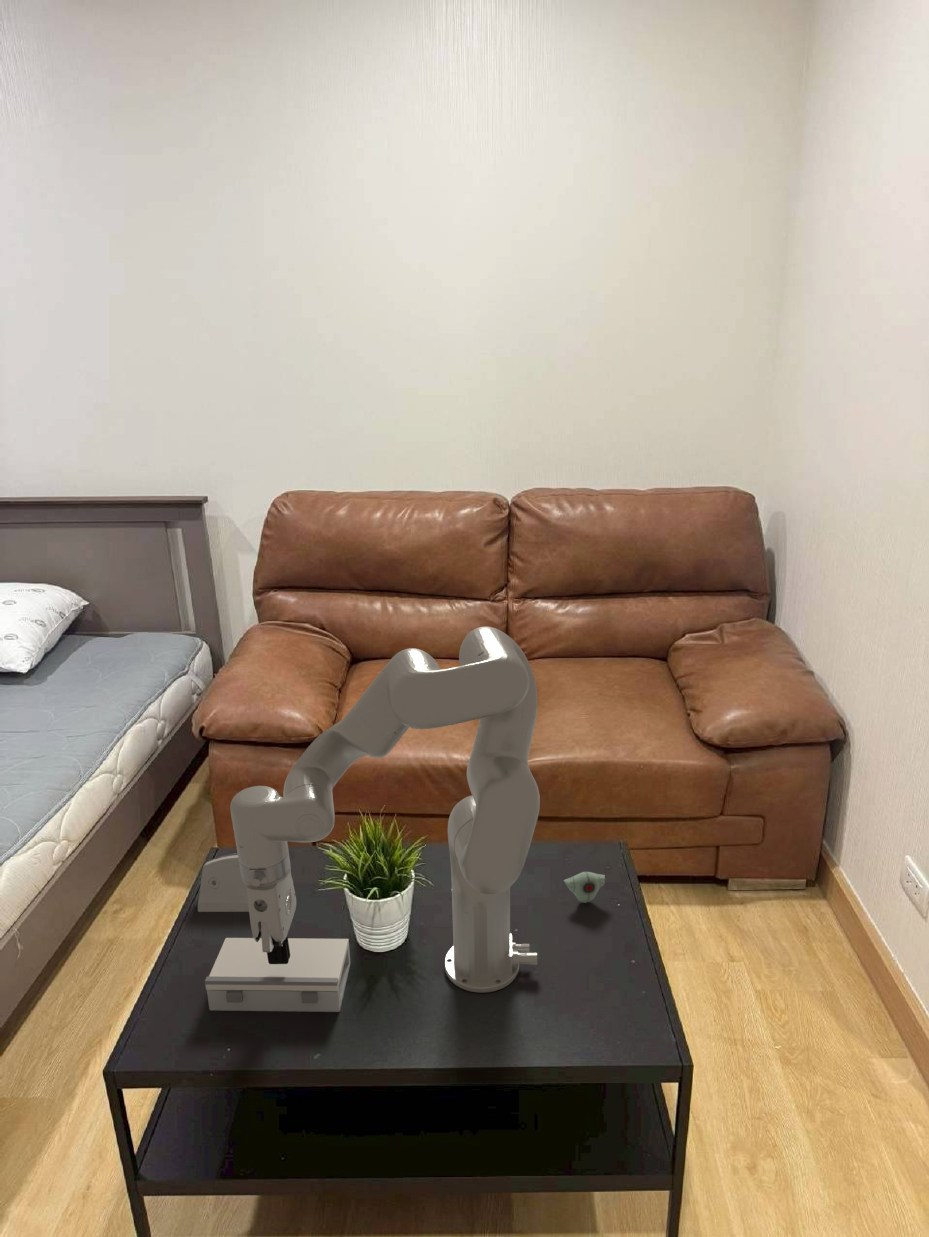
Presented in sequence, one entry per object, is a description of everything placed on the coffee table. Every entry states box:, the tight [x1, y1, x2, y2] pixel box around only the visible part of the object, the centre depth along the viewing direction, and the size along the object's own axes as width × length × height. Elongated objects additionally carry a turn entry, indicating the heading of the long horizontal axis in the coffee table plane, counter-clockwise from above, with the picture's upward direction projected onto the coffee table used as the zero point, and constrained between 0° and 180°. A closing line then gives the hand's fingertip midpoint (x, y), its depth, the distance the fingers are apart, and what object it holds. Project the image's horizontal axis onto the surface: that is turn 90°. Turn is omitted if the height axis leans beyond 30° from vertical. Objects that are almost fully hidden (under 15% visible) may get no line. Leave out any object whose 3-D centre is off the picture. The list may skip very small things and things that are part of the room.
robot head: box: [563, 871, 606, 904], centre depth 166 cm, size 8×4×7 cm, turn 100°
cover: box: [204, 937, 350, 991], centre depth 146 cm, size 21×11×2 cm, turn 88°
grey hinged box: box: [206, 945, 351, 1013], centre depth 147 cm, size 21×12×4 cm, turn 88°
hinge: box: [197, 853, 249, 913], centre depth 169 cm, size 17×5×10 cm, turn 89°
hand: (279, 960), depth 144 cm, fingers closed
